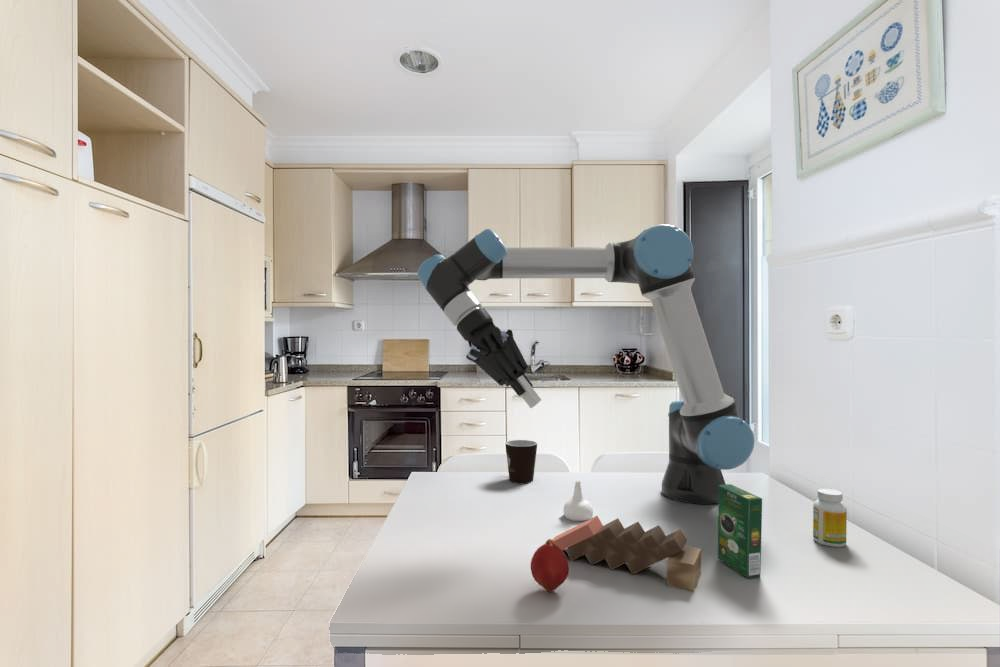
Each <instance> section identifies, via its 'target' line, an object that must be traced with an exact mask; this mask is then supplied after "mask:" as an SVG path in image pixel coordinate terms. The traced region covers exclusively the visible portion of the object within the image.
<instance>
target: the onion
mask: <svg viewBox="0 0 1000 667" xmlns="http://www.w3.org/2000/svg"><path fill="white" fill-rule="evenodd" d="M569 571H570V564H569V561H568V558H567V555H566V553H565V552H564V550H563V551H562V550H561V549H560V548H559V547H558V546H557V545H555V544H554V542H553V540H552V539H550V538H549V539H547V540H546V542H545V543H544V544H542V545H541V546H539V547H538V548H537V549H536V550H535V551H534V554H533V556H532V557H531V560H530V572H531V575H532V577H533V580H534V581H535V582H536V583H537V584H538V585H539V586H541V587H542V588H543V589H544V590H545V591H547V592H549V593H552V592H554V591H555V590H556V589H558V588H559V587H560V586H561V585H562V584H564V582H566V579H567V578H568V576H569V573H570V572H569Z"/></svg>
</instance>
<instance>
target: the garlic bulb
mask: <svg viewBox="0 0 1000 667" xmlns="http://www.w3.org/2000/svg"><path fill="white" fill-rule="evenodd" d="M581 482H582V481H581V480H576V481H575V483H574V484H575V485H574V489H573V496H572V498H571V499H568V500H567V501H566V502H565V504H564V505H563V515H564V517H565V518H566V519H567V520H570V521H575V522H586V521H588V520H590V519H591V518H593V515H594V509H593V506H592V504H591V503H590V502H589V501H588V500H586V499H584V496H583V493H582V485H581Z"/></svg>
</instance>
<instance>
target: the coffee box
mask: <svg viewBox="0 0 1000 667" xmlns="http://www.w3.org/2000/svg"><path fill="white" fill-rule="evenodd" d="M717 504H718V506H717V508H718V509H717V512H718V514H717V515H718V519H717V527H718V528H717V559H718V560H719V561H721V562H722V563H723V564H725V565H727V566H728V567H730V568H732V569H733V570H734V571H736V572H737V573H738V574H739V575H742V576H743V577H745V578H747V579H756V578H760V577H761V567H762V566H761V565H762V559H761V558H762V526H763V525H762V522H763V521H762V520H763V519H762V518H763V498H762V497H760V496H757V495H755V494H753V493H750V492H748V491H746V490H744V489H741V487H740V488H739V486H738V487H737V486H736V485H733V484H731V483H730V484H726V483H725V485H719V499H718V503H717Z"/></svg>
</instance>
